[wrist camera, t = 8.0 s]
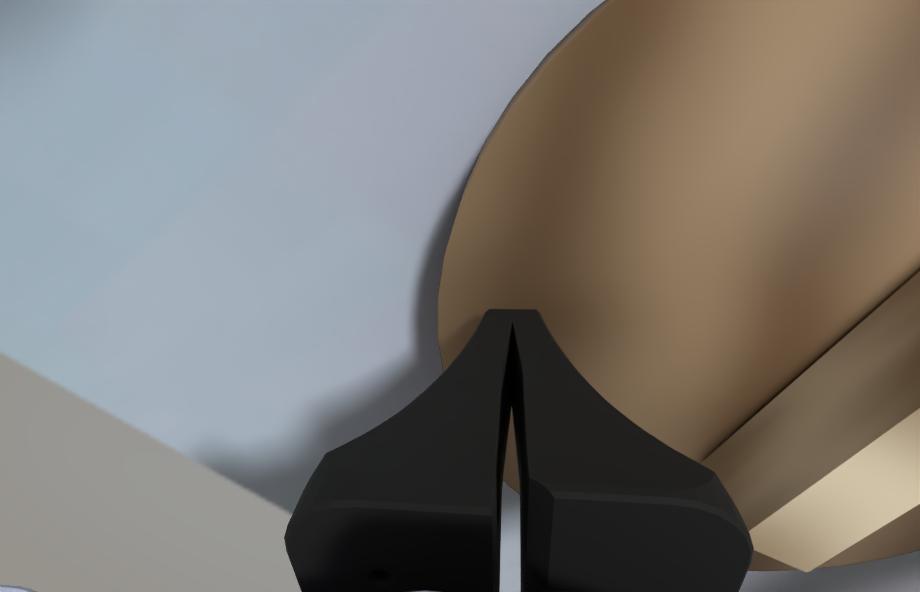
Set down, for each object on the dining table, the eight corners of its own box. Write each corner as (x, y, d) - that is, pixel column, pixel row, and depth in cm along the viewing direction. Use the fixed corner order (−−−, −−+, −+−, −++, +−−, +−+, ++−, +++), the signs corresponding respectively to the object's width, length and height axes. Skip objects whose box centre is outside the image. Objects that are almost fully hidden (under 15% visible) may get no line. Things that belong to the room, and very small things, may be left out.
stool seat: (1510, -174, 8) (2329, -345, 5) (973, 527, 18) (1096, 659, 14) (422, -84, 11) (371, -150, 7) (461, 498, 20) (449, 605, 17)
